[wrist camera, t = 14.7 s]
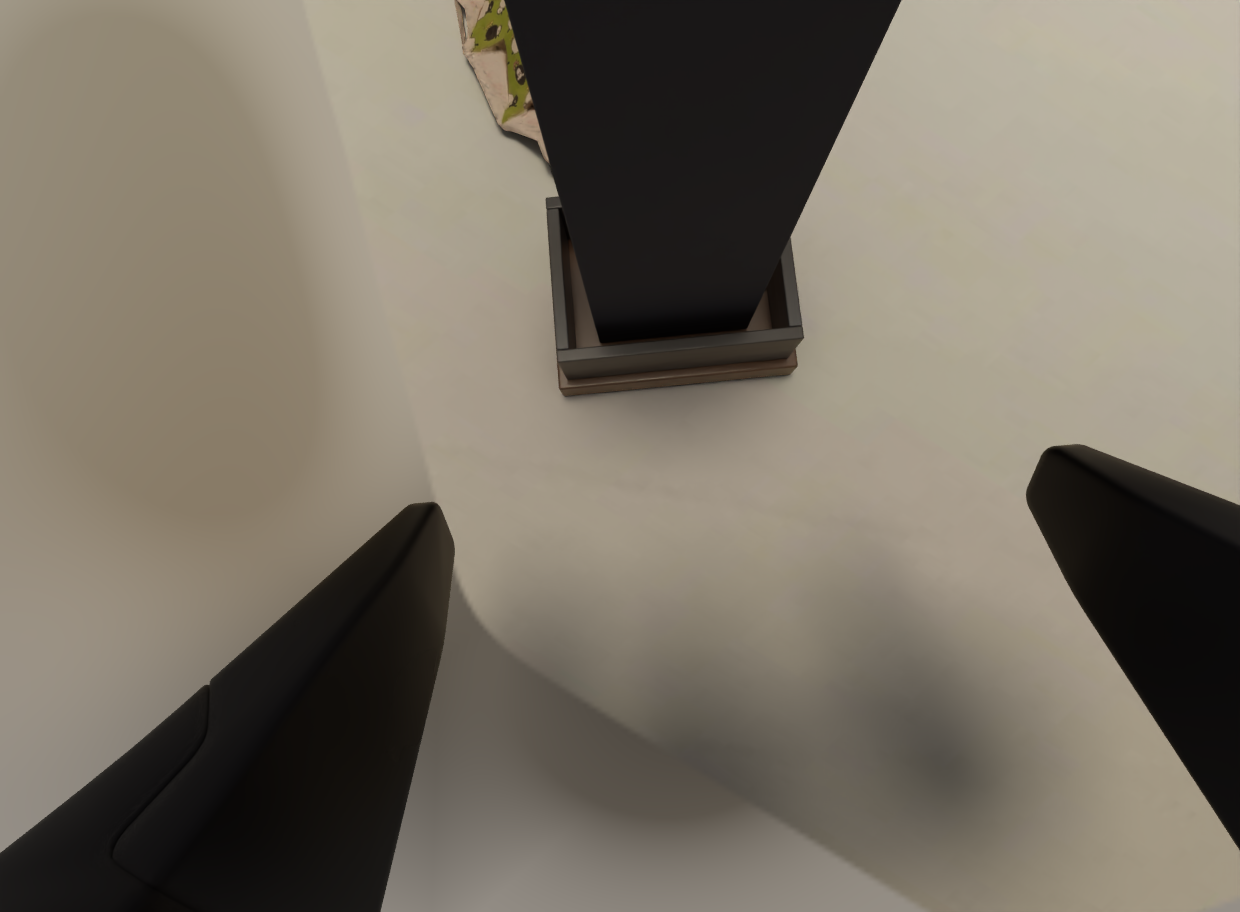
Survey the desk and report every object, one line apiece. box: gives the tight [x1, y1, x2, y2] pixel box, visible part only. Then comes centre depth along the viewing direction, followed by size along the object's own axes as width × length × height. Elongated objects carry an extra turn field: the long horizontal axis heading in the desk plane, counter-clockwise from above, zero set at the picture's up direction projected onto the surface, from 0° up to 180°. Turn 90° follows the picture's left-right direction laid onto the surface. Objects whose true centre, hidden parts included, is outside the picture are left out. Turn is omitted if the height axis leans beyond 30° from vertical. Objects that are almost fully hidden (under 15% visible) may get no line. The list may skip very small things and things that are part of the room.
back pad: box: [504, 0, 901, 343], centre depth 11 cm, size 3×5×16 cm, turn 95°
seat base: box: [546, 197, 804, 396], centre depth 19 cm, size 6×8×3 cm
